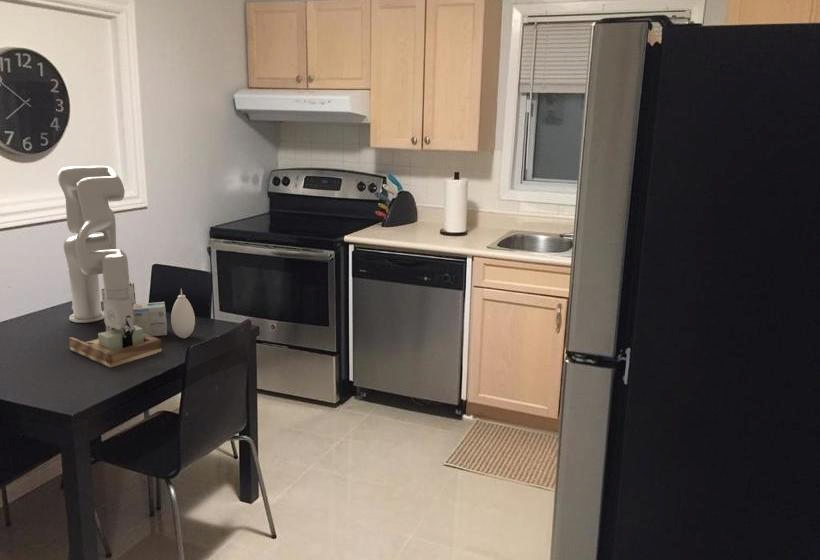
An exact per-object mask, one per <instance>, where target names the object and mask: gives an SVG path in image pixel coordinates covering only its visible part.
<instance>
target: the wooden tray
mask: <svg viewBox="0 0 820 560" xmlns="http://www.w3.org/2000/svg"><path fill="white" fill-rule="evenodd" d="M143 335H144V342H143V343H139V344H136V345H132V346H129V347H126V348H122V349H119V350H115V351H111V350H109V349H107V348H104V347H102V346H99V339H98V338H96V339H91V340H89V341H83V340H81V339H78V338H75V337H74V336H71V337H69V338H68V341H69V342H68V343H69V350H70V351H72V352H74V353H77V354H79V355H82V356H84V357H86V358H88V359H90V360H92V361H95V362H97V363H99V364H102V365H104V366H106V367H108V368H113V367H117V366H119V365H123V364H126V363H130V362H133V361H136V360H139V359H143V358H145V357H150V356H151V355H155V354H158V352H159V353H161V351H162V352H163V349H162V339H160V338H157V337H156V336H150V335H147V334H145V333H143Z"/></svg>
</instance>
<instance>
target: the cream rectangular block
mask: <svg viewBox="0 0 820 560" xmlns="http://www.w3.org/2000/svg"><path fill="white" fill-rule="evenodd" d="M134 326H135V325H134ZM126 327H128V326H125V328H126ZM135 328H136V329H135V331H134V333H133V336H132V341H133V345H136V344H139V343H143V342H144V335H143V328H140V327H138V326H135ZM127 331H128V329H126V330H125V332H127ZM97 336H98V337H97V339H99V346H102V347H104V348H107V349H109V350H111V351H115V350H119V349H122V348H123V343H122V338H123V334H122V331H121V330H117V329H114V330H110V331H106V330H105V331H103V332H98V333H97Z"/></svg>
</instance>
